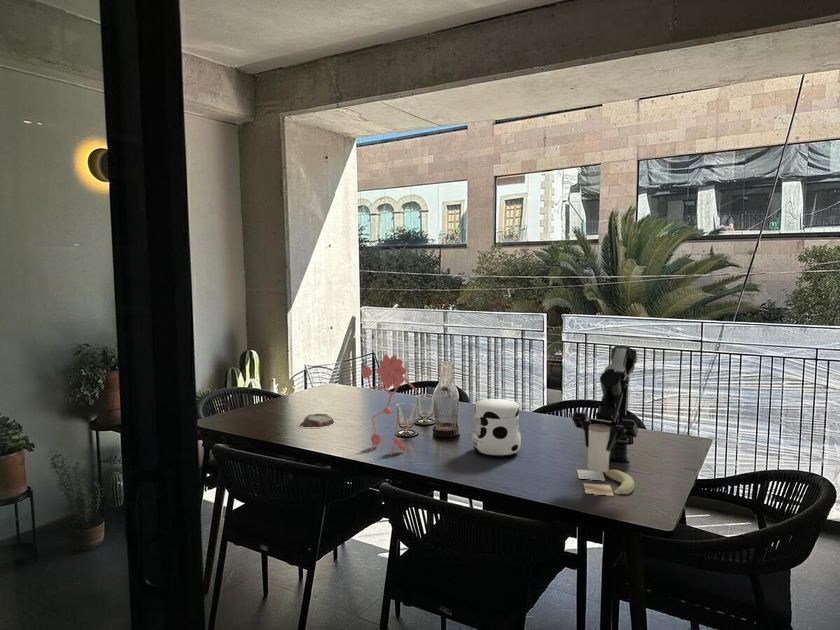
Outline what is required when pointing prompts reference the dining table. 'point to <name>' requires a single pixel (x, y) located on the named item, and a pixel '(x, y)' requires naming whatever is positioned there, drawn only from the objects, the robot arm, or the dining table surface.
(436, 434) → the dining table surface
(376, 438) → the pink blossom sprig
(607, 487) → the cork coaster
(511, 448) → the milk container
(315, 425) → the quiche
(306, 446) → the dining table surface
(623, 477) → the fruit
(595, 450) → the tumbler
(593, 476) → the grey square tile
